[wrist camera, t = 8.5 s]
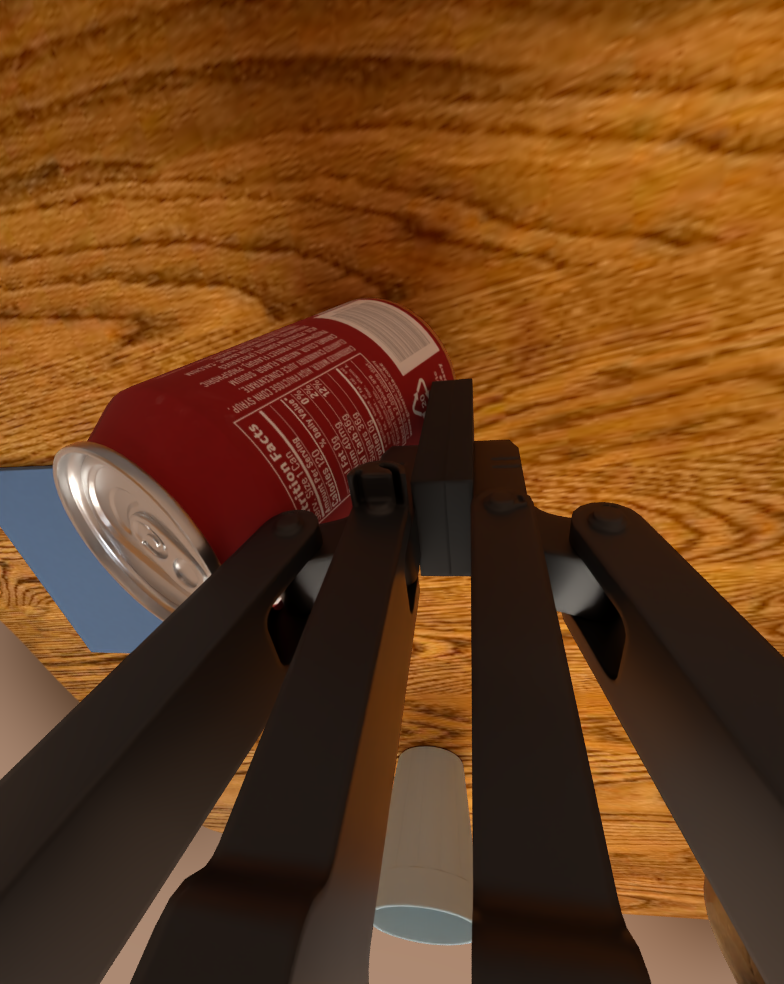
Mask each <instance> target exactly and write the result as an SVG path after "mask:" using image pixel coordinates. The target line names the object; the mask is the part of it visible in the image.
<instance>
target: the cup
mask: <svg viewBox="0 0 784 984" xmlns="http://www.w3.org/2000/svg"><path fill="white" fill-rule="evenodd" d="M472 912H473V843H472V835H471V826H470V817H469V808H468V800H467V791H466V783H465V774H464V767H463V763H462V761H461V760H460V758H459V757H458V756H456V755H455V754H453V753H452V752H450V751H448V750H445V749H442V748H437V747H431V746H419V747H413V748H410V749H407V750H406V751H404V752H403V753H402V754H401V755H400V756H399V760H398V764H397V769H396V774H395V779H394V784H393V788H392V794H391V802H390V809H389V816H388V823H387V830H386V837H385V845H384V852H383V859H382V866H381V873H380V880H379V887H378V895H377V902H376V909H375V916H374V923H373V926H374V927H375V928H377V929H379V930H380V931H382V932H384V933H387V934H389V935H392V936H395V937H398V938H401V939H405V940H409V941H414V942H419V943H425V944H433V945H462V944H468V943H472Z"/></svg>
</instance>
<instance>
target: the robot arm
mask: <svg viewBox="0 0 784 984" xmlns="http://www.w3.org/2000/svg"><path fill="white" fill-rule="evenodd" d="M347 481H348V486H349V491H350V496H351V501H352V506H353V507H352V510H351V512H350V515H349V516H348V517H346V518H343V519H339V520H336V521H331V522H327V523H322V524H319V521H318V517H317V516H316V515H315V514H314V513H313V512H310V511H306V510H290V511H285V512H282V513H280V514H278V515H276V516H273V517H272V518H271V519H269V520H268V521H266V522H265V523H264V524H263V525H262V526H261V527H260V528H259V529H258V530H257V531H256V532H255V533H254V534H253V535H252V536H251V537H250V538H249V539H248V540H247V541H246V542H245V543H244V544H242V545H241V546H240V547H239V548H238V549H237V550H236V551H235V552H234V553H233V554H232V555H231V556H230V557H229V558H228V559H227V560H226V561H225V562H224V563H223V564H222V565H221V566H220V567H219V568H218V569H217V570H216V571H215V572H214V573H213V574H212V575H211V576H210V577H209V578H208V579H206V580H205V581H204V582H203V583H202V584H201V585H200V586H199V587H198V588H197V589H196V590H195V591H194V592H193V593H192V594H191V595H190V596H189V597H188V598H187V599H186V600H185V601H184V602H183V603H182V604H181V605H180V606H179V607H178V608H177V609H176V610H175V611H174V612H173V613H172V614H171V615H169V616H168V617H167V618H166V619H165V620H164V621H163V622H162V623H161V624H160V625H159V626H158V627H157V628H156V629H155V630H154V631H153V632H152V633H151V634H150V635H149V636H148V637H147V638H146V639H145V640H144V641H143V642H142V643H141V644H140V645H139V646H138V647H137V648H136V649H135V650H133V651H132V652H131V653H130V654H129V655H128V656H127V657H126V658H125V659H124V660H123V661H122V662H121V663H120V664H119V665H118V666H117V667H116V668H115V669H114V670H113V671H112V672H111V673H110V674H109V675H108V676H107V677H106V678H105V679H104V680H103V681H102V682H101V683H100V684H99V685H98V686H96V687H95V688H94V689H93V690H92V691H91V692H90V693H89V694H88V695H87V696H86V697H85V698H84V699H83V700H82V701H81V702H80V703H79V704H78V705H77V706H76V707H75V708H74V709H73V710H72V711H71V712H70V713H69V714H68V715H67V716H66V717H65V718H64V719H63V720H62V721H61V722H60V723H58V724H57V725H56V726H55V728H53V729H52V730H51V731H50V732H49V733H48V734H47V735H46V736H45V737H44V738H43V739H42V740H41V741H40V742H39V743H38V744H37V745H36V746H35V747H34V748H33V749H32V750H31V751H30V752H29V753H28V754H27V755H26V756H25V757H23V759H21V760H20V762H19V763H17V764H16V765H15V766H14V767H13V768H12V769H11V770H10V771H9V772H8V773H7V774H6V775H5V776H4V777H3V778H2V779H1V780H0V984H100V982H101V981H102V979H103V978H104V976H105V975H106V973H107V972H108V970H109V968H110V967H111V965H112V964H113V962H114V961H115V959H116V958H117V956H118V954H119V953H120V951H121V950H122V948H123V947H124V945H125V944H126V942H127V940H128V939H129V937H130V936H131V934H132V932H133V931H134V929H135V928H136V926H137V925H138V923H139V922H140V920H141V919H142V917H143V916H144V914H145V913H146V911H147V909H148V908H149V906H150V905H151V903H152V902H153V900H154V899H155V897H156V895H157V894H158V892H159V891H160V889H161V888H162V886H163V885H164V883H165V881H166V880H167V878H168V877H169V875H170V874H171V872H172V870H173V869H174V868H175V866H176V864H177V863H178V861H179V860H180V858H181V857H182V855H183V853H184V852H185V851H186V849H187V847H188V846H189V844H190V843H191V841H192V840H193V838H194V836H195V835H196V833H197V832H198V830H199V829H200V827H201V826H202V824H203V823H204V821H205V819H206V818H207V816H208V815H209V813H210V812H211V810H212V809H213V807H214V806H215V804H216V802H217V801H218V799H219V798H220V796H221V795H222V793H223V792H224V790H225V788H226V787H227V785H228V784H229V782H230V781H231V779H232V778H233V776H234V774H235V773H236V771H237V770H238V768H239V767H240V765H241V764H242V762H243V761H244V759H245V757H246V756H247V754H248V753H249V751H250V750H251V748H252V747H253V745H254V743H255V742H256V740H257V739H258V737H259V736H260V734H261V733H262V731H263V729H264V728H265V729H264V731H263V734H262V736H261V739H260V741H259V744H258V746H257V749H256V751H255V754H254V756H253V759H252V761H251V764H250V766H249V769H248V771H247V774H246V776H245V779H244V781H243V784H242V787H241V789H240V792H239V794H238V797H237V799H236V802H235V804H234V807H233V809H232V812H231V814H230V817H229V819H228V822H227V824H226V827H225V829H224V832H223V834H222V837H221V840H220V842H219V844H218V846H217V848H216V850H215V852H214V855H213V857H212V858H211V859H210V861H209V862H208V863H207V865H206V866H205V867H204V868H202V869H201V870H199V871H197V872H196V873H194V874H192V875H191V876H189V877H188V878H186V879H185V880H184V881H183V882H182V884H181V885H180V886H179V887H178V889H177V890H176V891H175V892H174V894H173V895H172V896H171V897H170V899H169V901H168V903H167V905H166V907H165V909H164V910H163V913H162V914H161V916H160V918H159V920H158V922H157V924H156V926H155V928H154V930H153V932H152V935H151V937H150V939H149V941H148V944H147V946H146V948H145V950H144V953H143V955H142V957H141V960H140V962H139V964H138V966H137V969H136V971H135V973H134V976H133V978H132V980H131V982H130V984H369V976H368V974H369V973H368V968H369V954H370V945H371V937H372V930H373V923H374V916H375V909H376V902H377V895H378V887H379V880H380V873H381V866H382V859H383V852H384V845H385V837H386V830H387V823H388V816H389V809H390V802H391V794H392V787H393V780H394V773H395V766H396V759H397V751H398V744H399V737H400V730H401V723H402V716H403V708H404V701H405V694H406V687H407V680H408V673H409V666H410V658H411V651H412V644H413V637H414V630H415V623H416V615H417V608H418V601H419V594H420V588H419V580H418V572H419V565H420V569H421V576H471V647H472V812H473V912H472V984H651V981H650V977H649V974H648V971H647V968H646V966H645V963H644V960H643V957H642V955H641V952H640V949H639V947H638V945H637V944H636V942H635V940H634V939H633V937H632V936H631V934H630V932H629V931H628V929H627V928H626V924H625V921H624V919H623V916H622V913H621V909H620V905H619V901H618V897H617V892H616V887H615V883H614V878H613V873H612V869H611V864H610V859H609V855H608V850H607V845H606V840H605V836H604V831H603V826H602V822H601V817H600V812H599V808H598V803H597V798H596V794H595V789H594V784H593V780H592V775H591V770H590V766H589V761H588V756H587V752H586V747H585V742H584V737H583V733H582V728H581V723H580V719H579V714H578V709H577V705H576V700H575V695H574V691H573V686H572V681H571V677H570V672H569V667H568V663H567V658H566V653H565V649H564V644H563V639H562V634H561V630H560V625H559V620H558V616H557V611H559V612H562V616H563V619H564V622H565V624H566V625H567V627H568V629H569V631H570V633H571V634H572V636H573V638H574V640H575V642H576V643H577V645H578V647H579V649H580V651H581V652H582V654H583V656H584V658H585V660H586V661H587V663H588V665H589V667H590V668H591V670H592V672H593V674H594V676H595V677H596V679H597V681H598V683H599V685H600V686H601V688H602V690H603V692H604V694H605V695H606V697H607V699H608V701H609V703H610V704H611V706H612V708H613V710H614V712H615V713H616V715H617V717H618V719H619V721H620V722H621V724H622V726H623V728H624V730H625V731H626V733H627V735H628V737H629V739H630V740H631V742H632V744H633V746H634V748H635V749H636V751H637V753H638V755H639V757H640V758H641V760H642V762H643V764H644V766H645V767H646V769H647V771H648V773H649V775H650V776H651V778H652V780H653V782H654V784H655V785H656V787H657V789H658V791H659V793H660V794H661V796H662V798H663V800H664V802H665V803H666V805H667V807H668V809H669V811H670V812H671V814H672V816H673V818H674V820H675V821H676V823H677V825H678V827H679V829H680V830H681V832H682V834H683V836H684V838H685V839H686V841H687V843H688V845H689V847H690V848H691V850H692V852H693V854H694V856H695V857H696V859H697V861H698V863H699V865H700V866H701V868H702V870H703V872H704V874H705V875H706V877H707V879H708V881H709V883H710V884H711V886H712V888H713V890H714V892H715V893H716V895H717V897H718V899H719V901H720V902H721V904H722V906H723V908H724V910H725V911H726V913H727V915H728V917H729V919H730V920H731V922H732V924H733V926H734V928H735V929H736V931H737V933H738V935H739V937H740V938H741V940H742V942H743V944H744V946H745V947H746V949H747V951H748V953H749V955H750V956H751V958H752V960H753V962H754V964H755V965H756V967H757V969H758V971H759V973H760V974H761V976H762V978H763V980H764V982H765V983H766V984H784V657H783V656H782V655H781V654H780V653H779V652H778V651H777V650H776V649H775V648H774V647H773V646H772V645H771V644H770V643H769V642H768V641H767V640H766V639H765V638H764V637H763V636H762V635H761V634H760V633H759V632H758V631H757V630H756V629H755V628H754V627H753V626H752V625H751V624H750V623H749V622H748V621H747V620H746V619H745V618H743V617H742V616H741V615H740V614H739V613H738V612H737V611H736V610H735V609H734V608H733V607H732V606H731V605H730V604H729V603H728V602H727V601H726V600H725V599H724V598H723V597H722V596H721V595H720V594H719V593H718V592H717V591H716V590H715V589H714V588H713V587H712V586H711V585H710V584H709V583H708V582H707V581H706V580H705V579H704V578H703V577H702V576H701V575H700V574H699V573H698V572H697V571H696V570H695V569H694V568H693V567H692V566H691V565H690V564H689V563H688V562H687V561H686V560H685V559H684V558H683V557H682V556H681V555H680V554H679V553H678V552H677V551H676V550H675V549H674V548H673V547H672V546H671V545H670V544H669V543H668V542H667V541H666V540H665V539H664V538H663V537H662V536H661V535H660V534H659V533H658V532H657V531H656V530H655V529H654V528H653V527H652V526H651V525H650V524H648V523H647V522H646V521H645V520H644V519H643V518H642V517H641V516H640V515H639V514H637V513H636V512H635V511H633V510H632V509H630V508H627V507H624V506H621V505H619V504H614V503H606V502H599V503H589V504H586V505H582V506H580V507H579V508H577V509H576V510H575V511H573V514H572V517H571V518H568V517H562V516H557V515H553V514H549V513H546V512H544V511H542V510H540V509H538V508H536V507H535V506H534V503H533V501H532V499H531V498H530V496H529V495H527V492H526V486H525V481H524V476H523V470H522V465H521V460H520V454H519V449H518V447H517V446H516V445H515V444H513V443H512V442H511V441H510V440H490V441H474V420H473V387H472V379H459V380H446V381H432V385H431V390H430V394H429V399H428V403H427V408H426V412H425V417H424V422H423V426H422V431H421V435H420V440H419V444H418V445H409V446H392V447H390V448H389V449H388V450H387V451H386V452H385V453H383V454H382V456H381V459H380V460H379V461H371V462H367V463H364V464H361V465H359V466H357V467H355V468H354V469H352V470H351V471H350V472H349V473H348V474H347ZM280 596H281V600H280V601H279V603H278V604H277V605H276V606H275V607H272V606H273V605H274V603H275V602H276V601H277V599H278V598H279V597H280Z"/></svg>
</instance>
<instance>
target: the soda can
mask: <svg viewBox="0 0 784 984" xmlns="http://www.w3.org/2000/svg"><path fill="white" fill-rule="evenodd" d="M446 380H456V377H455V373H454V369H453V366H452V363H451V360H450V358H449V355H448V353H447V351H446V349H445V347H444V345H443V344H442V342H441V341H440V339H439V338H438V336H437V335H436V333H435V332H434V331H433V330H432V328H431V327H430V326H429V325H428V324H427V323H426V322H425V321H424V320H423V319H421V318H420V317H419V316H418V315H417V314H415V313H414V312H412V311H411V310H409V309H408V308H406V307H404V306H402V305H400V304H398V303H395V302H392V301H389V300H385V299H381V298H360V299H356V300H352V301H349V302H347V303H344V304H341V305H339V306H336V307H334V308H331V309H329V310H326V311H323V312H321V313H318V314H316V315H313V316H311V317H308V318H306V319H303V320H300V321H298V322H295V323H293V324H290V325H288V326H285V327H282V328H280V329H277V330H275V331H272V332H270V333H267V334H265V335H262V336H259V337H257V338H254V339H252V340H249V341H247V342H244V343H242V344H239V345H236V346H234V347H231V348H229V349H226V350H224V351H221V352H218V353H216V354H213V355H211V356H208V357H206V358H203V359H201V360H198V361H195V362H193V363H190V364H188V365H185V366H183V367H180V368H177V369H175V370H172V371H170V372H167V373H165V374H162V375H160V376H157V377H154V378H152V379H149V380H147V381H144V382H142V383H139V384H136V385H134V386H131V387H129V388H127V389H125V390H123V391H121V392H119V393H118V394H117V395H116V396H114V397H113V398H112V400H111V401H110V402H109V403H108V405H107V406H106V408H105V410H104V412H103V413H102V415H101V417H100V419H99V421H98V423H97V424H96V426H95V428H94V430H93V432H92V433H91V435H90V437H89V439H88V441H81V442H76V443H73V444H70V445H68V446H66V447H64V448H62V449H61V450H60V451H58V452H57V454H56V455H55V457H54V461H53V477H54V482H55V486H56V489H57V492H58V495H59V498H60V500H61V502H62V504H63V507H64V509H65V511H66V513H67V515H68V517H69V518H70V520H71V522H72V524H73V525H74V527H75V528H76V530H77V532H78V533H79V535H80V536H81V538H82V539H83V541H84V542H85V544H86V545H87V546H88V548H89V549H90V550H91V552H92V553H93V554H94V556H95V557H96V558H97V559H98V561H99V562H100V563H101V564H102V566H103V567H104V568H105V569H106V570H107V571H108V573H109V574H110V575H111V576H112V577H113V578H114V579H115V580H116V581H117V582H118V583H119V584H120V585H121V586H122V587H123V588H124V589H125V590H126V591H127V592H128V593H129V594H130V595H131V596H132V597H133V598H134V599H135V600H136V601H137V602H139V603H140V604H141V605H142V606H143V607H144V608H146V609H147V610H148V611H149V612H151V613H152V614H153V615H155V616H156V617H157V618H159V619H160V620H162V621H164V620H165V619H166V618H167V617H168V616H169V615H171V614H172V613H173V612H174V611H175V610H176V609H177V608H178V607H179V606H180V605H181V604H182V603H183V602H184V601H185V600H186V599H187V598H188V597H189V596H190V595H191V594H192V593H193V592H194V591H195V590H196V589H197V588H198V587H199V586H200V585H201V584H202V583H203V582H204V581H205V580H206V579H208V578H209V577H210V576H211V575H212V574H213V573H214V572H215V571H216V570H217V569H218V568H219V567H220V566H221V565H222V564H223V563H224V562H225V561H226V560H227V559H228V558H229V557H230V556H231V555H232V554H233V553H234V552H235V551H236V550H237V549H238V548H239V547H240V546H241V545H242V544H244V543H245V542H246V541H247V540H248V539H249V538H250V537H251V536H252V535H253V534H254V533H255V532H256V531H257V530H258V529H259V528H260V527H261V526H262V525H263V524H264V523H265V522H266V521H268V520H269V519H271V518H272V517H273V516H276V515H278V514H280V513H282V512H285V511H290V510H306V511H310V512H313V513H314V514H315V515H316V516H317V517H318V521H319V524H322V523H327V522H331V521H336V520H339V519H343V518H346V517H348V516H349V515H350V512H351V510H352V507H353V506H352V501H351V496H350V491H349V486H348V481H347V474H348V473H349V472H350V471H351V470H352V469H354V468H355V467H357V466H359V465H361V464H364V463H367V462H371V461H379V460H380V459H381V456H382V454H383V453H385V452H386V451H387V450H388V449H389V448H390V447H392V446H409V445H418V444H419V440H420V435H421V431H422V426H423V422H424V417H425V412H426V408H427V403H428V399H429V394H430V390H431V385H432V381H446ZM280 600H281V596H280V597H279V598H278V599H277V601H276V602H275V603H274V605H273V606H272V607H275V606H276V605H277V604H278V603H279V601H280Z"/></svg>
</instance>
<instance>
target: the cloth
mask: <svg viewBox="0 0 784 984" xmlns="http://www.w3.org/2000/svg"><path fill="white" fill-rule="evenodd" d="M0 527H1V528H2V529H3V531H4V532H5V534H6V535H7V536H8V538H9V539H10V541H11V542H12V543H13V545H14V546H15V547H16V549H17V550H18V552H19V553H20V554H21V556H22V557H23V558H24V560H25V561H26V563H27V564H28V565H29V567H30V568H31V569H32V571H33V572H34V574H35V575H36V576H37V578H38V579H39V581H40V582H41V583H42V585H43V586H44V587H45V589H46V590H47V592H48V593H49V594H50V596H51V597H52V598H53V600H54V601H55V603H56V604H57V605H58V607H59V608H60V610H61V611H62V612H63V614H64V615H65V616H66V618H67V619H68V621H69V622H70V623H71V625H72V626H73V627H74V629H75V630H76V632H77V633H78V634H79V636H80V637H81V638H82V640H83V641H84V643H85V644H86V645H87V647H88V648H89V650H90V651H91V652H105V653H131V652H132V651H133V650H135V649H136V648H137V647H138V646H139V645H140V644H141V643H142V642H143V641H144V640H145V639H146V638H147V637H148V636H149V635H150V634H151V633H152V632H153V631H154V630H155V629H156V628H157V627H158V626H159V625H160V624H161V623H162V622H163V621H162V620H160V619H159V618H157V617H156V616H155V615H153V614H152V613H151V612H149V611H148V610H147V609H146V608H144V607H143V606H142V605H141V604H140V603H139V602H137V601H136V600H135V599H134V598H133V597H132V596H131V595H130V594H129V593H128V592H127V591H126V590H125V589H124V588H123V587H122V586H121V585H120V584H119V583H118V582H117V581H116V580H115V579H114V578H113V577H112V576H111V575H110V574H109V573H108V571H107V570H106V569H105V568H104V567H103V566H102V564H101V563H100V562H99V561H98V559H97V558H96V557H95V556H94V554H93V553H92V552H91V550H90V549H89V548H88V546H87V545H86V544H85V542H84V541H83V539H82V538H81V536H80V535H79V533H78V532H77V530H76V528H75V527H74V525H73V524H72V522H71V520H70V518H69V517H68V515H67V513H66V511H65V509H64V507H63V504H62V502H61V500H60V498H59V495H58V492H57V489H56V486H55V482H54V477H53V465H51V466H30V467H8V468H0Z"/></svg>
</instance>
